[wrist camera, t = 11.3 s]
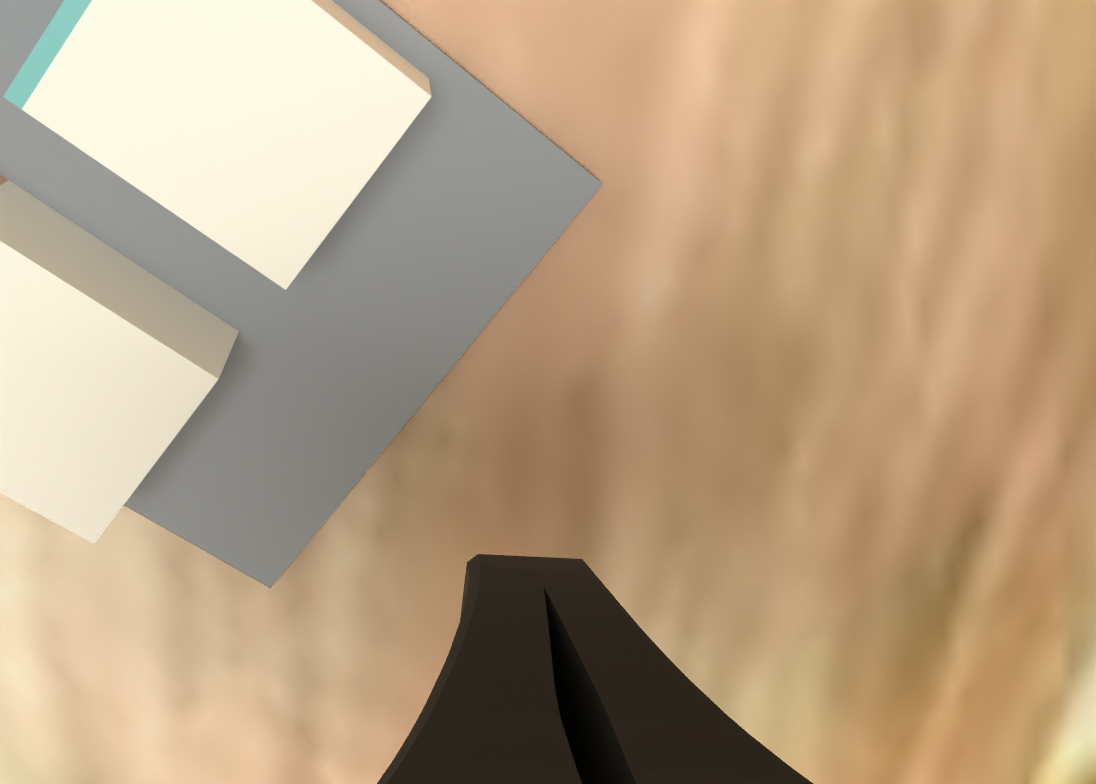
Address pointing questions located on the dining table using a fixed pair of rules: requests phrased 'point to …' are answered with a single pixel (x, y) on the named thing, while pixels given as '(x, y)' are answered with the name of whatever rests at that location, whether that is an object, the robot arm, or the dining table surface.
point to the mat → (319, 295)
